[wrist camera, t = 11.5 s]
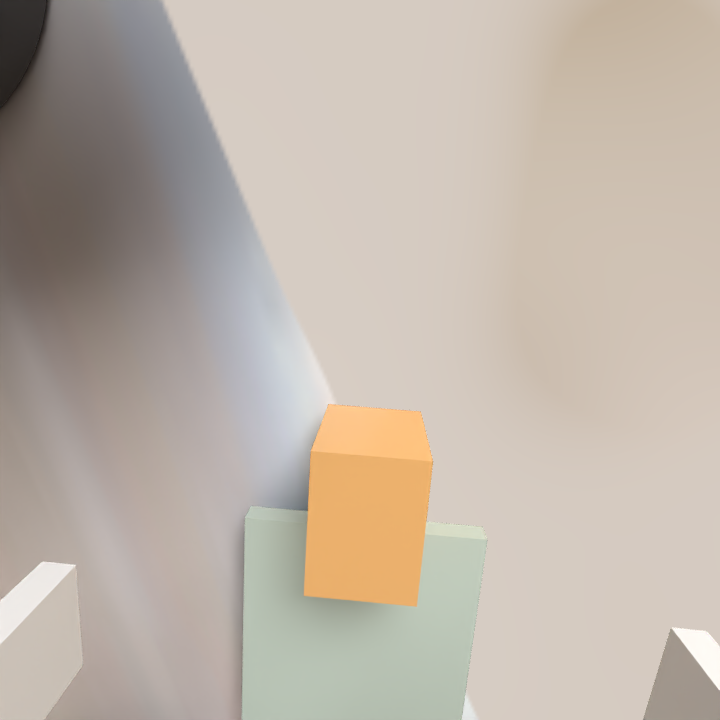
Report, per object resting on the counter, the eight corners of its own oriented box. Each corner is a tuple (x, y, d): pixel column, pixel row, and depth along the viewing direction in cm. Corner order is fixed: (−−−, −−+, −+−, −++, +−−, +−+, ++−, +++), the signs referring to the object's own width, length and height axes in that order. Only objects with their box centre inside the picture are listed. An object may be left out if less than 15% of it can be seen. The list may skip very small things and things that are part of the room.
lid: (259, 391, 21) (211, 442, 15) (492, 410, 21) (535, 470, 15) (252, 706, 25) (212, 844, 19) (448, 727, 25) (469, 874, 19)
